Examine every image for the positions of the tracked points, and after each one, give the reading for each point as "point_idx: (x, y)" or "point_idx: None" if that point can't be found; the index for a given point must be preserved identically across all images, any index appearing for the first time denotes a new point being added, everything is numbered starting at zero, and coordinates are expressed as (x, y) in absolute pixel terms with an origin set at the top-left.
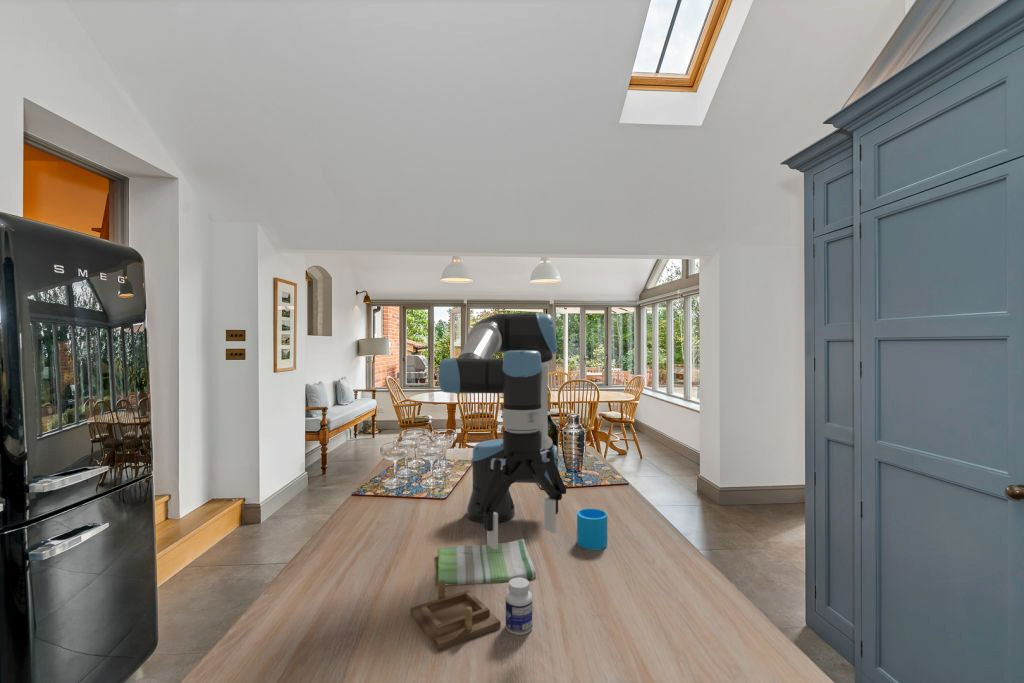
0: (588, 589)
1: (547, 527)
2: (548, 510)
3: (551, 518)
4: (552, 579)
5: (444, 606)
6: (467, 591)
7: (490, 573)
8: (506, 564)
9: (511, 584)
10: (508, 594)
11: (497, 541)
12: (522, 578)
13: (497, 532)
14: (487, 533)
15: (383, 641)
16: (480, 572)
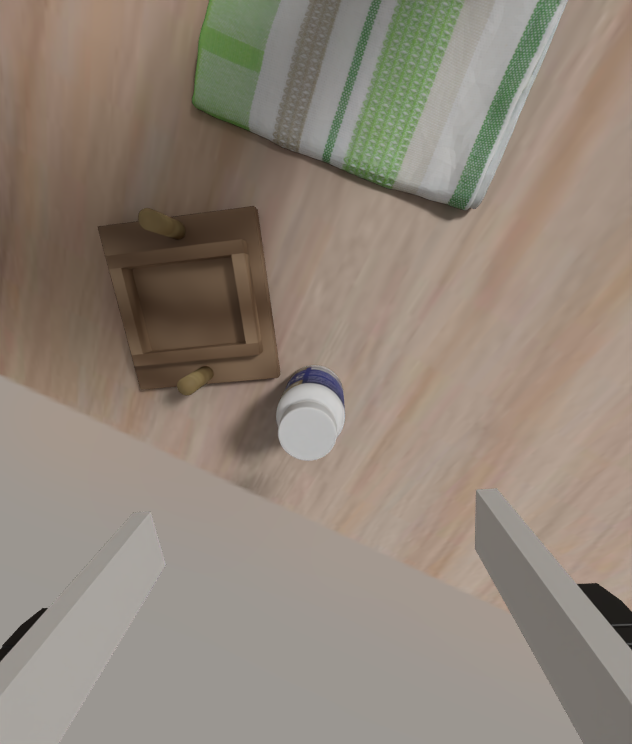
0: (551, 333)
1: (483, 523)
2: (549, 636)
3: (517, 613)
4: (508, 240)
5: (176, 263)
6: (236, 247)
7: (354, 137)
8: (433, 91)
9: (282, 435)
10: (282, 412)
11: (144, 596)
12: (327, 420)
13: (115, 643)
14: (95, 559)
15: (48, 307)
16: (329, 111)
